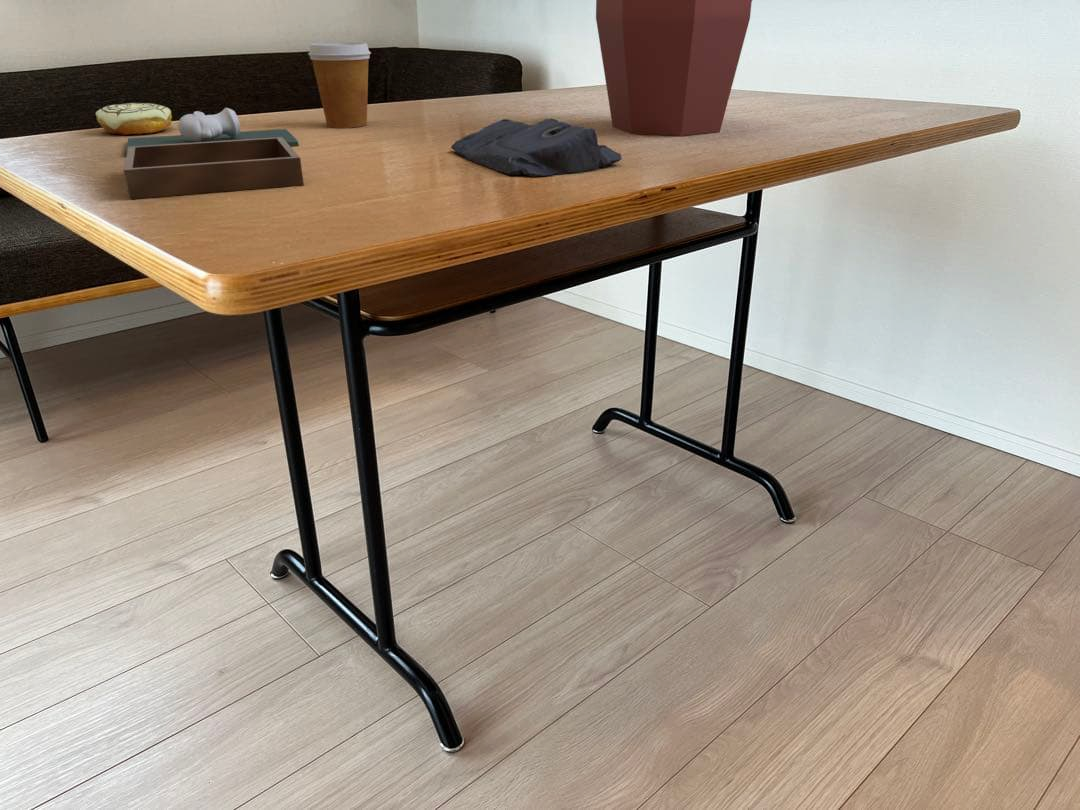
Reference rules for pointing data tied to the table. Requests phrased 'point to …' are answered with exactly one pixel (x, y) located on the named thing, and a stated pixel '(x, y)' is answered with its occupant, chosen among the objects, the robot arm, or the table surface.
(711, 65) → the bucket
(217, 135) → the smooth white sculpture
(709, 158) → the table surface
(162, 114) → the decorated donut
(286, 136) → the mat
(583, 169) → the dark folded cloth
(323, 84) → the disposable coffee cup
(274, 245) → the table surface
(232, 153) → the brown rectangular tray
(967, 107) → the table surface
